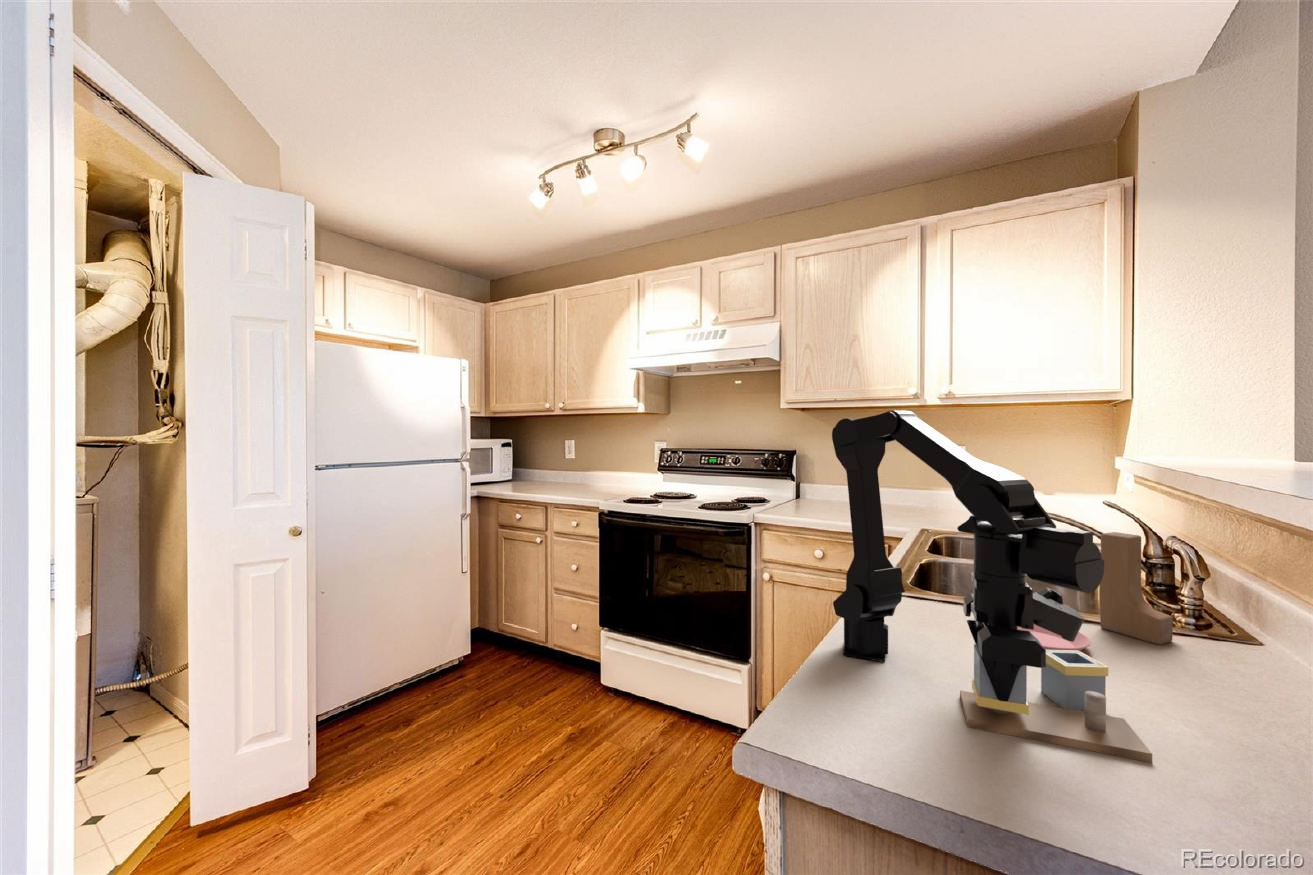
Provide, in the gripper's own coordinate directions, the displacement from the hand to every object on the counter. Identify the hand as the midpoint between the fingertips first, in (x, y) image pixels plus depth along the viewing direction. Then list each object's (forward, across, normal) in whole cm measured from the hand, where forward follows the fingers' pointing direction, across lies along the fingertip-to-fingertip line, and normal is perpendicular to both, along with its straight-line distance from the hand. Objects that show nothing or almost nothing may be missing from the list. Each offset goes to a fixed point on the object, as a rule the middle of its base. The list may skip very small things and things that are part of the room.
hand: (998, 691), depth 69 cm
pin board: (+4, 0, -5) cm, 6 cm away
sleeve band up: (+4, +9, -10) cm, 14 cm away
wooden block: (+4, +43, -28) cm, 51 cm away
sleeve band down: (+1, 0, 0) cm, 1 cm away
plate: (+4, +32, -11) cm, 34 cm away
